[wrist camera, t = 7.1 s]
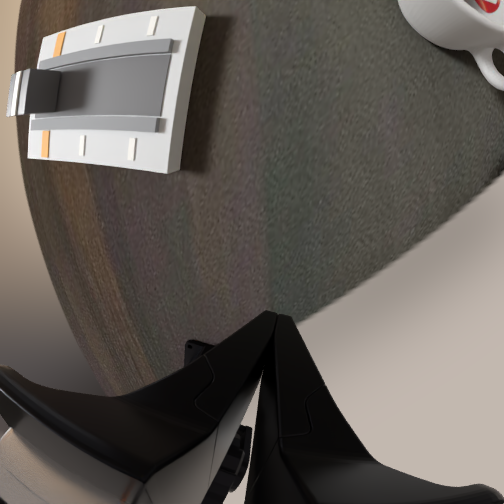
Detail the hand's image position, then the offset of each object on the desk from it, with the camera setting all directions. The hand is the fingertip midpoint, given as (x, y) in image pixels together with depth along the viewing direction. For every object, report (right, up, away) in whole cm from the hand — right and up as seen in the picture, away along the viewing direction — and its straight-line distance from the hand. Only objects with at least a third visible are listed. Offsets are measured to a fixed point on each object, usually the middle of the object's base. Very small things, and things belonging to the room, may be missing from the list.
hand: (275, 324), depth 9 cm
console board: (-13, +15, +10) cm, 22 cm away
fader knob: (-18, +16, +8) cm, 25 cm away
